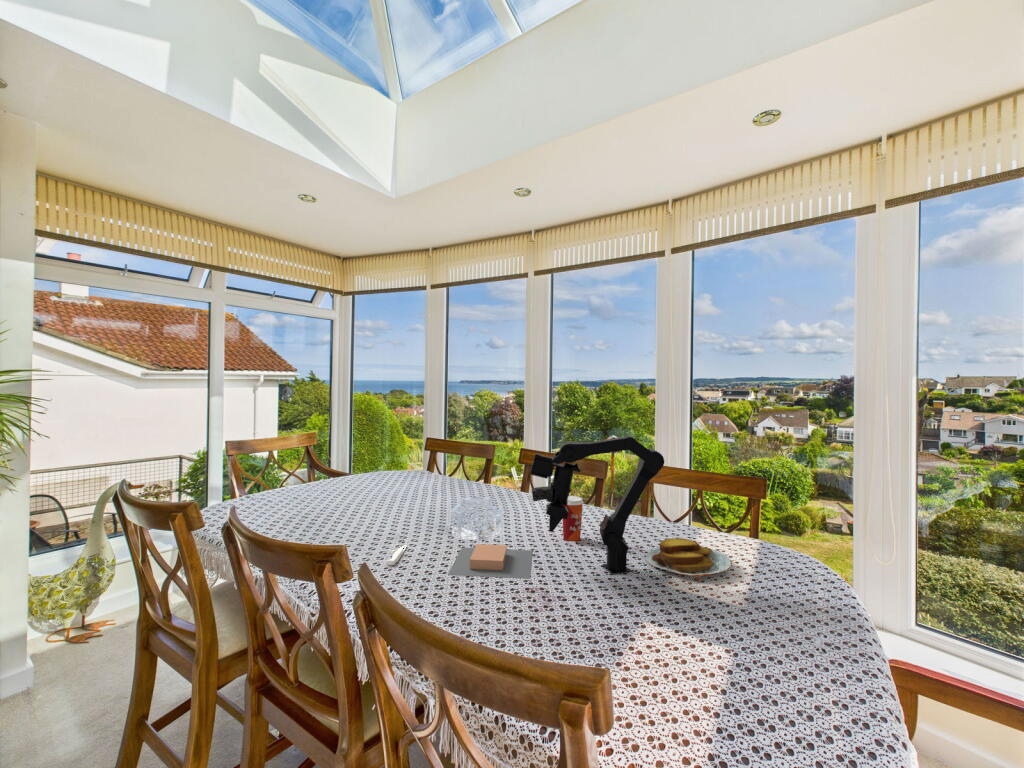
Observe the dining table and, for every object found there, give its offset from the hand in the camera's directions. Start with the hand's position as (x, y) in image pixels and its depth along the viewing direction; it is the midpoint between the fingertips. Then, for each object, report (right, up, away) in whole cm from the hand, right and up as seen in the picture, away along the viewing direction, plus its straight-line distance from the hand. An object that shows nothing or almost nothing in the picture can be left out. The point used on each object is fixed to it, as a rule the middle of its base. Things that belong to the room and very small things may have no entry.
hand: (550, 531), depth 140 cm
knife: (-52, -11, +14) cm, 55 cm away
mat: (-18, -11, +1) cm, 21 cm away
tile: (-14, -9, +1) cm, 17 cm away
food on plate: (+43, -12, +3) cm, 45 cm away
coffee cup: (+10, -11, +25) cm, 29 cm away
